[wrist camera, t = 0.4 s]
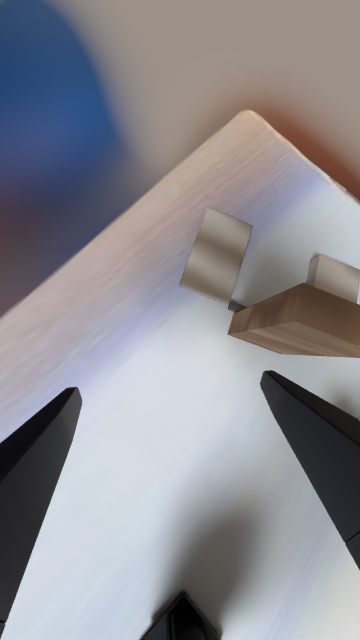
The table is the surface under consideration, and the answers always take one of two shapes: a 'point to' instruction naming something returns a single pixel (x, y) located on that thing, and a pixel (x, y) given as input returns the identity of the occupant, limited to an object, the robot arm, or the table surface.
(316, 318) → the walnut plank
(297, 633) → the table surface
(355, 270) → the floor row
